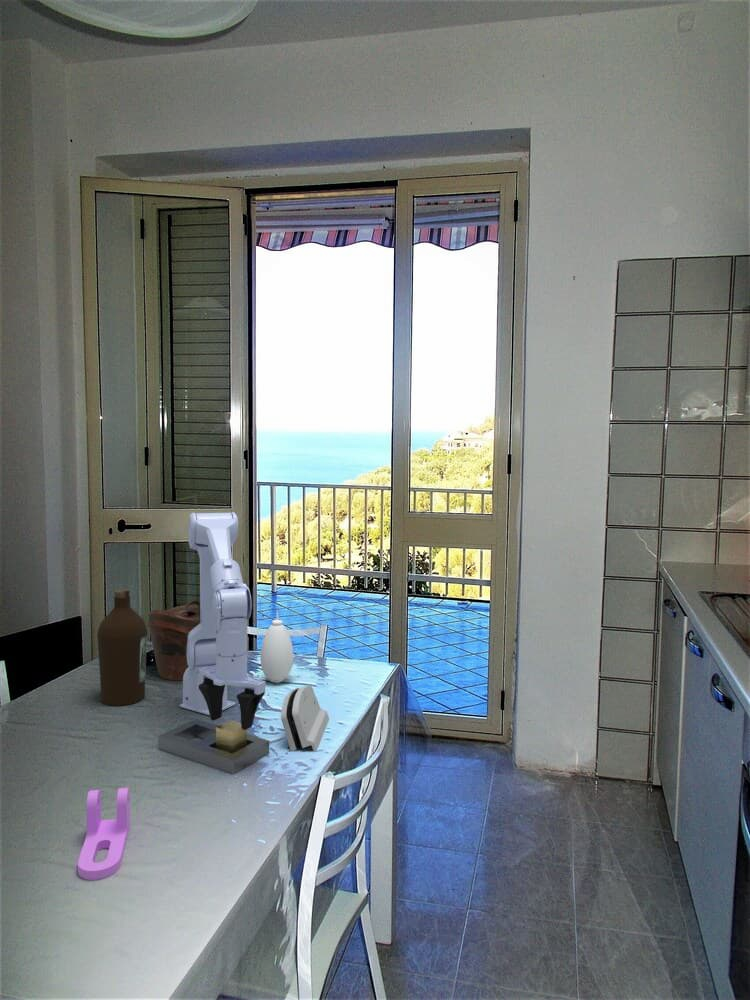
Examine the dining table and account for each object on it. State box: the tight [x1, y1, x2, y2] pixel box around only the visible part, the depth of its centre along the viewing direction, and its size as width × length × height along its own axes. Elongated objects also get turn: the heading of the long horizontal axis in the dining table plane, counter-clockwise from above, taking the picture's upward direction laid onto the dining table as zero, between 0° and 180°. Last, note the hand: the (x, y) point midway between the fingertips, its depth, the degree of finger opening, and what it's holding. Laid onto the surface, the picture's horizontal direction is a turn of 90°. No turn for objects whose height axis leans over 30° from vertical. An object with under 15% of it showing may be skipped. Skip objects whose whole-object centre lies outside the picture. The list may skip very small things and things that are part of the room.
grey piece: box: [280, 685, 330, 753], centre depth 142 cm, size 17×5×10 cm, turn 175°
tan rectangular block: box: [216, 719, 248, 754], centre depth 131 cm, size 4×4×6 cm
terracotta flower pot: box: [147, 600, 200, 681], centre depth 178 cm, size 18×20×18 cm
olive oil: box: [96, 588, 148, 707], centre depth 158 cm, size 11×11×25 cm
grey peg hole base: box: [157, 718, 270, 775], centre depth 133 cm, size 19×10×2 cm, turn 60°
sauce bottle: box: [260, 610, 294, 684], centre depth 171 cm, size 8×8×18 cm
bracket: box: [77, 787, 131, 881], centre depth 100 cm, size 13×6×7 cm, turn 13°
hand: (231, 723), depth 131 cm, fingers open, 7 cm apart
